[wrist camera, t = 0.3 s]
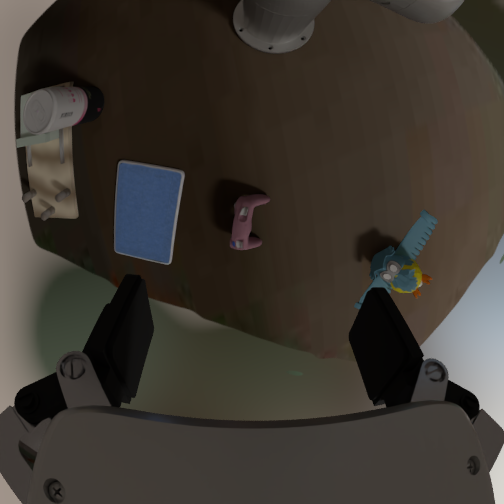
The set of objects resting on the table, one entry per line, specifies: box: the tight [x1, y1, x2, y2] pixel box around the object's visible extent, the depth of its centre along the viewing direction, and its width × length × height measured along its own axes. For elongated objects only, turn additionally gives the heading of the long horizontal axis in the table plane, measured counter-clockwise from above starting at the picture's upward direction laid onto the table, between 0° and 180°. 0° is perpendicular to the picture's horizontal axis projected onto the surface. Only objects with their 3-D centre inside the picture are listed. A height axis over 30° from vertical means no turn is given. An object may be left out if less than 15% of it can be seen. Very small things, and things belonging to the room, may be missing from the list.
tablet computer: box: [114, 160, 185, 265], centre depth 47 cm, size 19×13×1 cm, turn 165°
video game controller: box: [230, 194, 270, 250], centre depth 46 cm, size 10×5×7 cm, turn 172°
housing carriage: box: [16, 86, 60, 148], centre depth 31 cm, size 10×8×5 cm
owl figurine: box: [354, 210, 438, 309], centre depth 51 cm, size 28×9×15 cm
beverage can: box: [23, 87, 104, 135], centre depth 29 cm, size 7×6×15 cm
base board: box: [22, 82, 79, 220], centre depth 37 cm, size 27×12×5 cm, turn 173°
